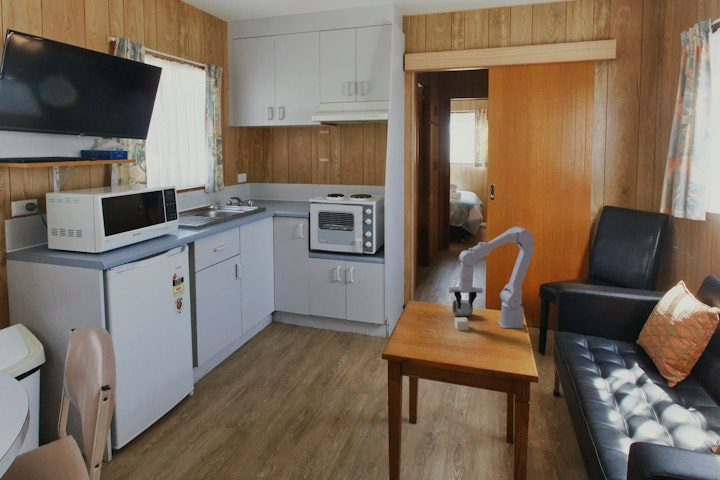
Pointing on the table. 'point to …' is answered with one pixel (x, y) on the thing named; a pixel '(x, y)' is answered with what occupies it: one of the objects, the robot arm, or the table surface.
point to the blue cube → (464, 307)
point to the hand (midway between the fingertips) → (464, 308)
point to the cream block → (461, 323)
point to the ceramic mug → (456, 311)
